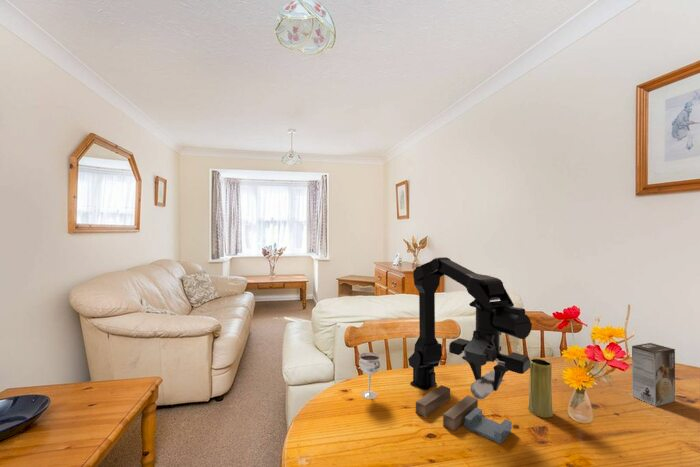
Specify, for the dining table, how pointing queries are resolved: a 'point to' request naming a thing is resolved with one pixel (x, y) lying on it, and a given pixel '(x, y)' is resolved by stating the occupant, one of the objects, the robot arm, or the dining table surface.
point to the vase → (540, 388)
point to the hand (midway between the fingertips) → (487, 387)
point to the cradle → (487, 426)
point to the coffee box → (653, 373)
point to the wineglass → (369, 370)
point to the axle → (483, 385)
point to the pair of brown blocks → (454, 414)
